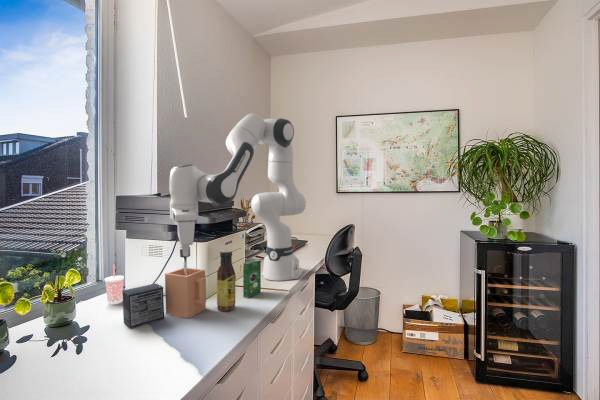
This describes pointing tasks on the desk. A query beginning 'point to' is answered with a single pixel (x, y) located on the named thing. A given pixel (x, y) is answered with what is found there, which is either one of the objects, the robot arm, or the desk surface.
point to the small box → (143, 305)
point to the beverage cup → (114, 288)
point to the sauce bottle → (226, 282)
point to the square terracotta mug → (185, 292)
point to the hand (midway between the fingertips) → (185, 254)
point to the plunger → (184, 260)
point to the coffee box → (251, 278)
